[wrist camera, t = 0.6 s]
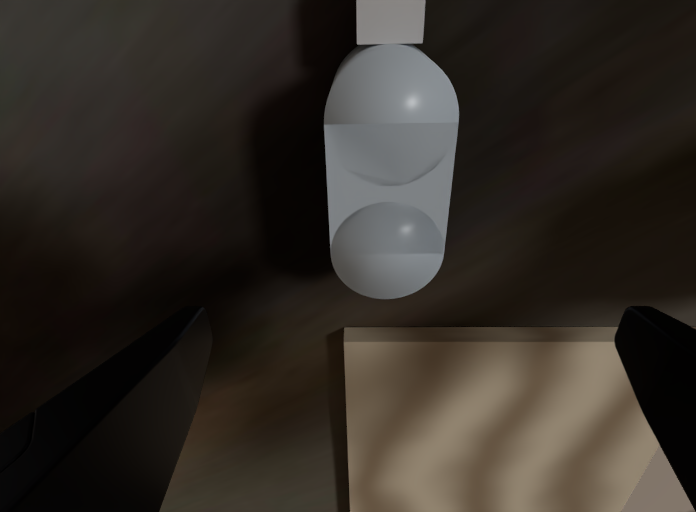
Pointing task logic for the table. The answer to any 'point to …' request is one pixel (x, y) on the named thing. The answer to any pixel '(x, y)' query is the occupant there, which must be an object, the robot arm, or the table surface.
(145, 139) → the table surface
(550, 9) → the table surface
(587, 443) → the birch board
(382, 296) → the usb stick
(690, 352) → the robot arm
